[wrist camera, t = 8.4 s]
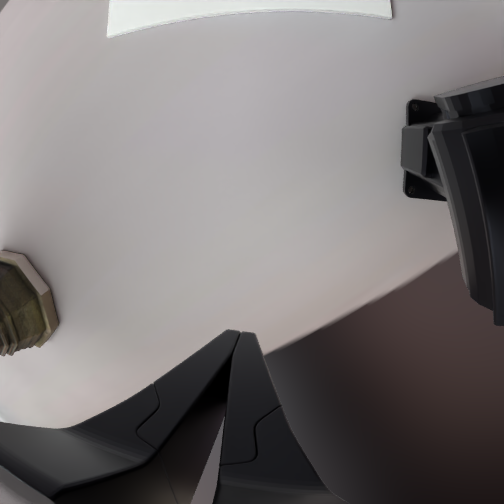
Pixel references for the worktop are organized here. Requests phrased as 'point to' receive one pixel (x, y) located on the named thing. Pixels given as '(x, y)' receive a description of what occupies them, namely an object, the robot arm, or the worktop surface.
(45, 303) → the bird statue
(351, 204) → the worktop surface
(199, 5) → the white mat
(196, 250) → the worktop surface
